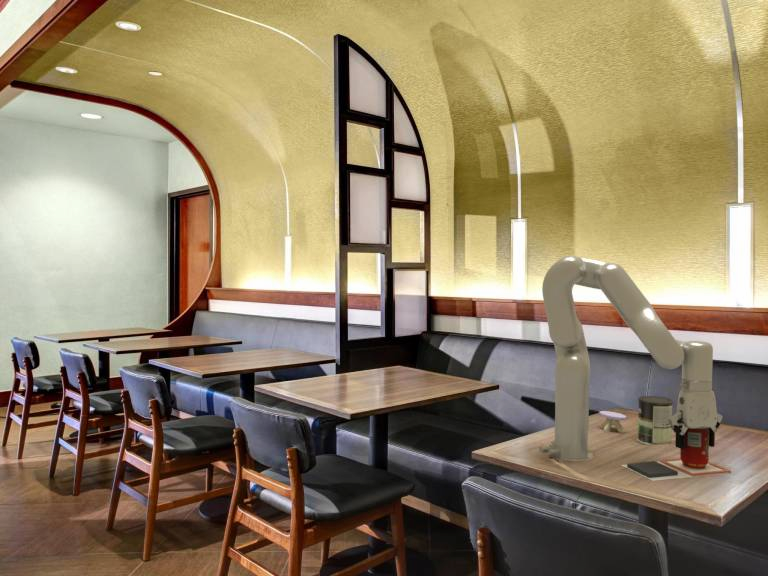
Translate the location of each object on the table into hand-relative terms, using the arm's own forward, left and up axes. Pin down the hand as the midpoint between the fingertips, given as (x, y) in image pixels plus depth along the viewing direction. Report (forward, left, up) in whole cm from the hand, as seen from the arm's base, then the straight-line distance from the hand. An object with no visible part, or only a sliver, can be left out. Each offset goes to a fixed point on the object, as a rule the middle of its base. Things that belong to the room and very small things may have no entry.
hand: (694, 446), depth 172 cm
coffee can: (+9, +27, -7) cm, 29 cm away
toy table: (+5, +43, -7) cm, 44 cm away
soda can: (0, 0, -6) cm, 6 cm away
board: (-7, 0, -7) cm, 10 cm away
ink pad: (-14, 0, -6) cm, 15 cm away
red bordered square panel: (0, 0, -6) cm, 6 cm away
